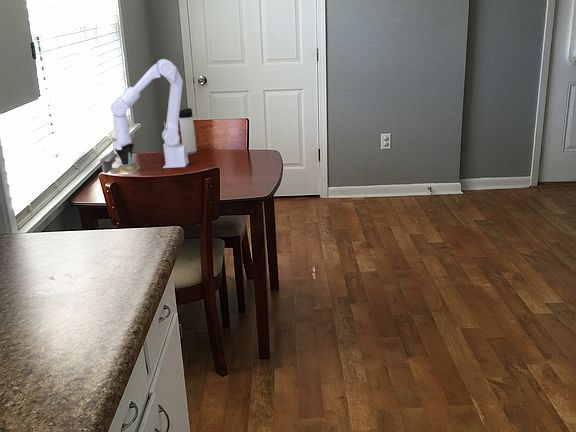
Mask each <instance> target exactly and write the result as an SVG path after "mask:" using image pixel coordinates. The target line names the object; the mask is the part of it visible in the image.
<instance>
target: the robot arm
mask: <svg viewBox="0 0 576 432" xmlns="http://www.w3.org/2000/svg"><path fill="white" fill-rule="evenodd" d="M161 75H162V76H163V77H164V78H165V79H166V81H168V82H169V84H170V86H169V96H168V104H167V105H168V106H167V114H166V122H165V124H164V129H163V131H162V132H161V137H162V141H164V143H163V144H162V145H163V146H162V148H163V155H164V162H165V165H164V166H163V167H162V168H163V169H170V168H171V169H172V168H173V169H174V168H185V167H187V165H188V164H189V163H190V161H189V154H187V147H186V145H182V143H181V142H180V139H181V136H180V134H179V111H180V110H181V109H180V108H181V101H182V92H183V79H182V76H181V74H180V72H179V70H178V68H177V66H176V65H175V64H174V63H173V62H172V61H170V60H168V59H166V58H161V59H159V60H158V61H157V62H156V63H155V64H153V65H152V66H151V67H150V68H149V69H148V70H147V71H146V72H145V73H144V74H143V76H142V77H141V78H140V79H139V80H138V81H137V83H136V84H135V85H134V86H129V87H128V88H124V90H123V91H124V92H123V93H122V94H121V95H120V96H119V97H116V100H115V101H113V102H112V104H111V107H110V111H111V113H112V119H113V129H114V128H115V135H116V141H115V142H114V144H117V145H116V149H115V151H116V152H117V154H118V155H119V157H120V159H121V162H122V163H121V164H123V165H127V164H128V152H130V155H131V161H132V159H133V158H132V157H133V149H134V146H135V143H133V141H132V137H131V132H130V127H129V120H128V117H127V112H128V109H129V108H131V107H132V106H133V105H135V103H136V102H137V101H138V99H140V97H141V96H140V95H141V94H140V93H141V92H142V91H143V90H144V88H145V89H146V87H147V86H148V85H149V84H150V83H151V82H152V81H153V80H154V79H158V78H161V77H162V76H161Z"/></svg>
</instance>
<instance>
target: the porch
mask: <svg viewBox="0 0 576 432" xmlns="http://www.w3.org/2000/svg"><path fill="white" fill-rule="evenodd" d="M116 156H117V154H114V153H107V154H105V156H103V157H102V158H100V159H99V162H100V164H101V170H102V173H103V172H104V173H108V172H111V174H123V173H128V174H134V173H135V172H136V171H137V170H138V169H139V170H140V169H141V166H140V165H139V166H138V163H137V162H132V166H126V167H122V163H120V165H119V166H117V167H113V164H112V160H113V159H115V157H116ZM139 170H138V171H139ZM138 171H137V172H138ZM137 172H136V173H137ZM136 173H135V174H136ZM135 174H134V175H135Z"/></svg>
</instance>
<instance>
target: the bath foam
mask: <svg viewBox="0 0 576 432" xmlns="http://www.w3.org/2000/svg"><path fill="white" fill-rule="evenodd" d="M111 141H112V146H113V152H114V153H113V154H117V152H116V151H115V149H116V145H117V144H114V142H115V141H116V135H115V128H114V127H113V129H112V131H111ZM114 160H115V163H117V164H122V162H121V159H120V157H119V155H118V154H117V156H116V157H114Z"/></svg>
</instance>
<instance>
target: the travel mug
mask: <svg viewBox="0 0 576 432" xmlns="http://www.w3.org/2000/svg"><path fill="white" fill-rule="evenodd" d="M178 124H179V128H180V139H181V145H186V147H187V154H188V155H193V154H196V153H197V151H198V150H197V142H196V140H197V139H196V132H195V124H194V116H193V109H192V107H191V108H189V107H187V108H184V109H180V110H179V119H178Z"/></svg>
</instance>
